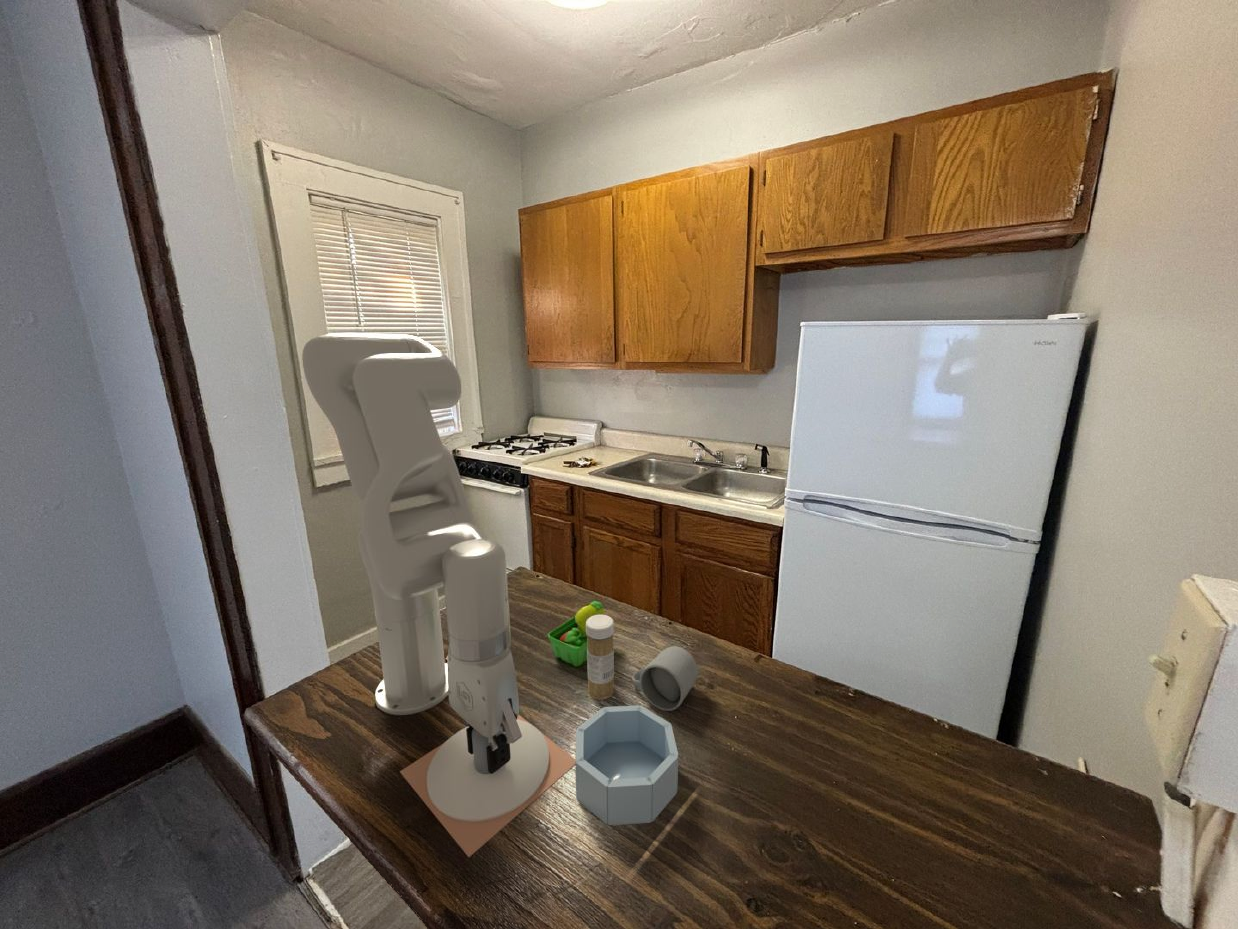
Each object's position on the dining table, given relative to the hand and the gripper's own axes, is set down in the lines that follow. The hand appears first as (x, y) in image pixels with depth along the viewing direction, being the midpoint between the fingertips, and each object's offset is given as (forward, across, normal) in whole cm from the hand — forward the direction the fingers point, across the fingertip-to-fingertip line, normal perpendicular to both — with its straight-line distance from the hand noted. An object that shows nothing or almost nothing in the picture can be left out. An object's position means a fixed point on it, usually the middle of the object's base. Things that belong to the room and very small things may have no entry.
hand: (489, 755), depth 65 cm
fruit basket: (+3, -9, +27) cm, 29 cm away
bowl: (+2, +15, +11) cm, 19 cm away
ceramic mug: (+3, +9, +28) cm, 29 cm away
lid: (+2, 0, 0) cm, 2 cm away
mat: (+2, 0, 0) cm, 2 cm away
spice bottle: (+2, +1, +21) cm, 21 cm away
